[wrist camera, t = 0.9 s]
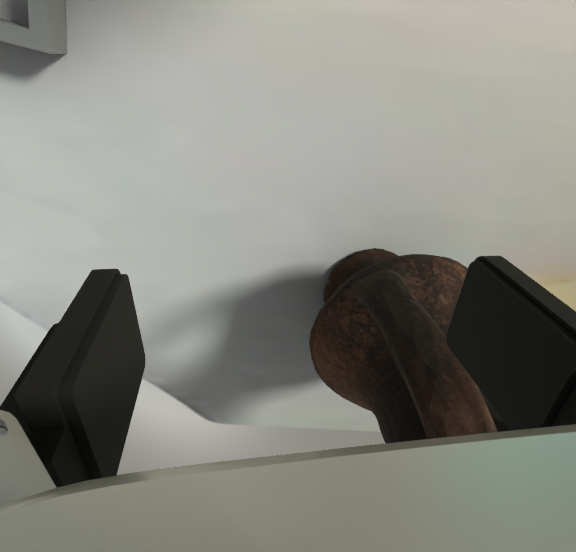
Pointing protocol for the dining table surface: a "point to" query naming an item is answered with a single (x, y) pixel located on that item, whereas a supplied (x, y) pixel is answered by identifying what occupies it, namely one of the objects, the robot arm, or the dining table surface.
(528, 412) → the robot arm
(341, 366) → the jug
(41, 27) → the box
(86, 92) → the dining table surface
